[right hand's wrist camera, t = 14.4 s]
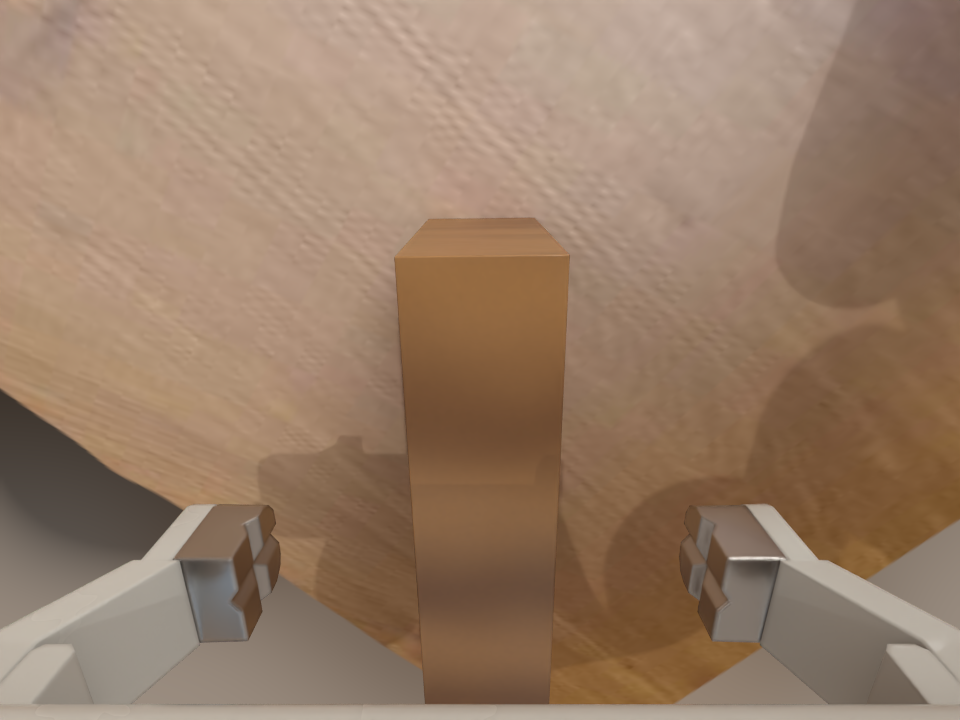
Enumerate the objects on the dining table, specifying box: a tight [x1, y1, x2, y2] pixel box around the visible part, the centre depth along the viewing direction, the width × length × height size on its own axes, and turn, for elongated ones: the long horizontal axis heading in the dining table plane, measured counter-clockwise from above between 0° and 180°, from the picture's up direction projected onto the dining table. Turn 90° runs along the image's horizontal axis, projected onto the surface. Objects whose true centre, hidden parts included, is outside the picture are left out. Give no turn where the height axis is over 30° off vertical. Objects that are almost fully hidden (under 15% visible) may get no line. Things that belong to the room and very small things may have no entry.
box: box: [395, 218, 570, 704], centre depth 28 cm, size 25×6×12 cm, turn 1°
